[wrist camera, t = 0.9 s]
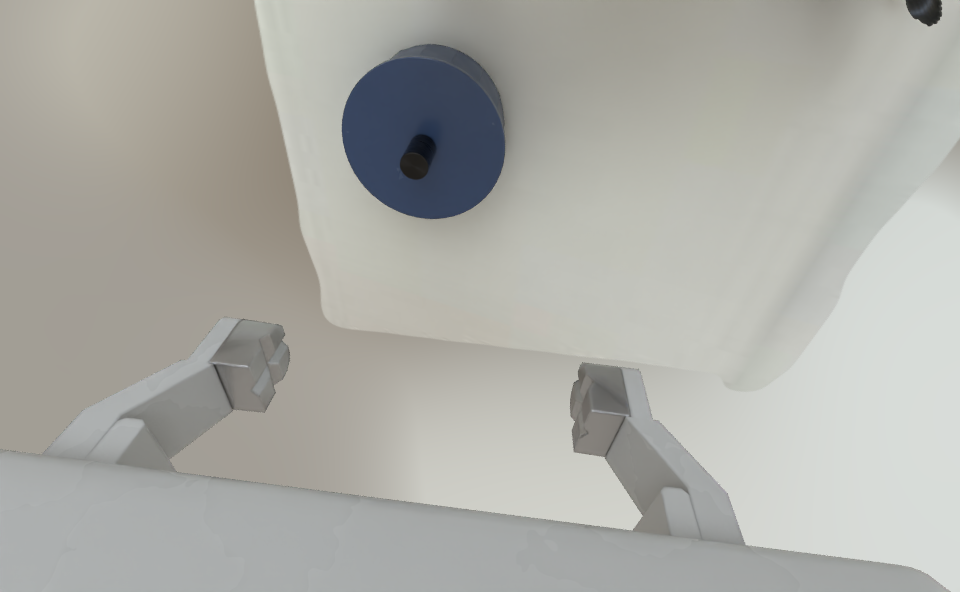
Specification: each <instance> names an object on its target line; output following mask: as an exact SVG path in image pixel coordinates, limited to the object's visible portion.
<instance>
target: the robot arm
mask: <svg viewBox="0 0 960 592" xmlns="http://www.w3.org/2000/svg"><path fill="white" fill-rule="evenodd" d="M284 336H285V333H284V329H283V326H281V325H278V324H271V323H265V322H258V321H252V320H245V319H236V318H230V317H223V318H222V319H220V320H219V321H218V322H217V323H216V324H215V326H214V327H213V328H212V329H211V331H210V332H209V333H208V335H207V336H206V337H205V338H204V339H203V341H202V342H201V343H200V345H199V346H198V347H197V348H196V350H195V351H194V352H193V353H192V355H191V356H190V357H189V358H188V360H180V361H178V362H176V363H174V364H172V365H170V366H168V367H166V368H164V369H162V370H160V371H158V372H156V373H155V374H153V375H151V376H149V377H147V378H145V379H143V380H141V381H139V382H137V383H135V384H133V385H131V386H129V387H127V388H125V389H123V390H121V391H119V392H117V393H115V394H113V395H111V396H109V397H107V398H106V399H104V400H102V401H100V402H98V403H96V404H94V405H92V406H90V407H88V408H86V409H84V410H82V411H81V413H80V414H79V415H78V416H77V417H76V418H75V419H74V420H73V421H72V422H71V423H70V424H69V426H68V427H67V428H66V429H65V430H64V431H63V432H62V433H61V434H60V435H59V436H58V438H56V440H55V441H54V442H53V443H52V444H51V445H50V446H49V447H48V448H47V449H46V450H45V451H44V453H43V454H34V453H26V452H18V451H11V450H10V451H9V450H3V449H0V592H950V591H949V590H947V589H946V588H945V587H943V586H942V585H941V584H940V583H938V582H937V581H936V580H934V579H933V578H932V577H931V576H929V575H928V574H926V573H924V572H922V571H920V570H916V569H914V568H911V567H906V566H901V565H895V564H887V563H880V562H872V561H864V560H856V559H848V558H841V557H833V556H825V555H817V554H809V553H801V552H794V551H786V550H778V549H770V548H763V547H755V546H747V545H745V542H744V540H743V537H742V534H741V531H740V528H739V525H738V522H737V520H736V516H735V514H734V511H733V508H732V505H731V502H730V499H729V496H728V493H726V491H725V490H724V489H723V488H722V487H721V486H720V485H719V484H718V483H717V482H716V481H715V480H714V479H713V478H712V476H711V475H710V474H709V473H708V472H707V471H706V470H705V469H704V468H703V467H702V466H701V465H700V464H699V463H698V462H697V461H696V460H695V459H694V457H693V456H692V455H691V454H690V453H689V452H688V451H687V450H686V449H685V448H684V447H683V446H682V445H681V444H680V443H679V442H678V441H677V440H676V438H674V436H673V435H672V434H671V433H670V432H669V431H668V430H667V429H666V428H665V427H664V426H663V425H662V424H661V423H660V422H659V421H658V420H653V418H652V414H651V411H650V407H649V403H648V399H647V395H646V391H645V387H644V383H643V379H642V375H641V372H640V371H639V369H634V368H625V367H618V366H617V367H616V366H609V365H600V364H592V363H582V364H581V365H580V367H579V370H578V377H579V380H577V381H576V382H574V385H573V388H572V392H571V399H570V413H571V417H572V418H573V419H574V421H575V423H574V426H573V429H572V436H573V448H574V452H577V453H583V454H589V455H596V456H603V457H605V459H606V461H607V462H608V464H609V465H610V467H611V468H612V470H613V471H614V473H615V474H616V476H617V477H618V479H619V480H620V482H621V483H622V485H623V486H624V488H625V489H626V491H627V493H628V494H629V496H630V497H631V499H632V500H633V502H634V503H635V505H636V506H637V508H638V509H639V511H640V512H641V514H642V515H643V517H642V518H641V520H640V521H639V522H638V524H637V525H636V527H635V528H634V529H633V531H631V530H623V529H615V528H608V527H600V526H592V525H584V524H576V523H569V522H560V521H553V520H546V519H538V518H530V517H521V516H514V515H506V514H499V513H491V512H483V511H476V510H468V509H459V508H452V507H445V506H437V505H429V504H421V503H413V502H406V501H398V500H390V499H381V498H374V497H366V496H359V495H351V494H342V493H335V492H327V491H319V490H312V489H304V488H297V487H289V486H280V485H273V484H266V483H258V482H250V481H242V480H235V479H226V478H219V477H211V476H204V475H196V474H188V473H180V472H177V471H176V470H175V468H174V466H173V465H172V463H171V462H170V460H169V459H171V458H172V457H173V456H174V455H176V454H177V453H179V452H180V451H181V450H183V449H184V448H185V447H186V446H188V445H189V444H190V443H192V442H193V441H194V440H196V439H197V438H198V437H200V436H201V435H202V434H203V433H205V432H206V431H207V430H209V429H210V428H211V427H213V426H214V425H215V424H217V423H218V422H219V421H221V420H222V419H223V418H225V417H226V416H227V415H228V414H230V413H231V412H232V411H233V410H232V409H234V410H244V411H254V412H265V411H266V409H267V407H268V405H269V404H270V402H271V400H272V398H273V396H274V394H275V389H274V385H275V384H276V383H278V382H279V381H281V380H282V379H283V378H284V376H285V374H286V372H287V369H288V365H289V361H290V352H289V348H288V346H287V345H286V344H285V343H284V342H283V341H282V339H283V337H284Z"/></svg>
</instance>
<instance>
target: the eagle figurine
mask: <svg viewBox="0 0 960 592" xmlns="http://www.w3.org/2000/svg"><path fill="white" fill-rule="evenodd" d="M906 5H907V8H908V10H909V12H910V14H911V15H912V17H913V18H914V19H919V21H921V22H922V23H924V24H927V25H928V26H932V25H933V24H937V22H938V21H939V20H940V17H941V16H942V12H941V10H942V7H941V5H942V2H941V0H906Z"/></svg>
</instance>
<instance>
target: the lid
mask: <svg viewBox="0 0 960 592" xmlns="http://www.w3.org/2000/svg"><path fill="white" fill-rule="evenodd" d="M342 137H343V144H344V148H345V152H346V155H347V158H348V161H349V163H350V165H351V167H352V169H353V171H354V173H355V174H356V176H357V177H358V179H359V180H360V182H361V183H362V184H363V185H364V187H365V188H366V189H367V190H368V191H369V192H370V193H371V194H372V195H373V196H375V197H376V198H377V199H378V200H379V201H381V202H382V203H384V204H385V205H387V206H388V207H390V208H392V209H394V210H396V211H398V212H401V213H404V214H406V215H410V216H414V217H418V218H425V219H439V218H447V217H452V216H455V215H458V214H461V213H464V212H466V211H468V210H470V209H471V208H473V207H474V206H476V205H477V204H479V203H480V202H481V201H482V200H483V199H484V198H485V197H486V196H487V195H488V194H489V193H490V191H491V190H492V189H493V187H494V185H495V184H496V182H497V180H498V178H499V176H500V173H501V170H502V167H503V163H504V156H505V135H504V129H503V125H502V121H501V118H500V115H499V113H498V110H497V108H496V106H495V104H494V103H493V101H492V99H491V98H490V96H489V95H488V93H487V92H486V91H485V89H484V88H483V87H482V86H481V85H480V84H479V83H478V82H477V81H476V80H475V79H474V78H473V77H471V76H470V75H469V74H468V73H466V72H465V71H463V70H462V69H460V68H458V67H457V66H455V65H453V64H451V63H448V62H446V61H444V60H440V59H437V58H433V57H427V56H403V57H397V58H394V59H391V60H388V61H385V62H383V63H381V64H379V65H377V66H376V67H374V68H373V69H372V70H370V71H369V72H368V73H366V74H365V75H364V76H363V77H362V78H361V79H360V80H359V82H358V83H357V84H356V86H355V87H354V88H353V90H352V92H351V94H350V96H349V97H348V100H347V102H346V105H345V108H344V113H343V119H342Z"/></svg>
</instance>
